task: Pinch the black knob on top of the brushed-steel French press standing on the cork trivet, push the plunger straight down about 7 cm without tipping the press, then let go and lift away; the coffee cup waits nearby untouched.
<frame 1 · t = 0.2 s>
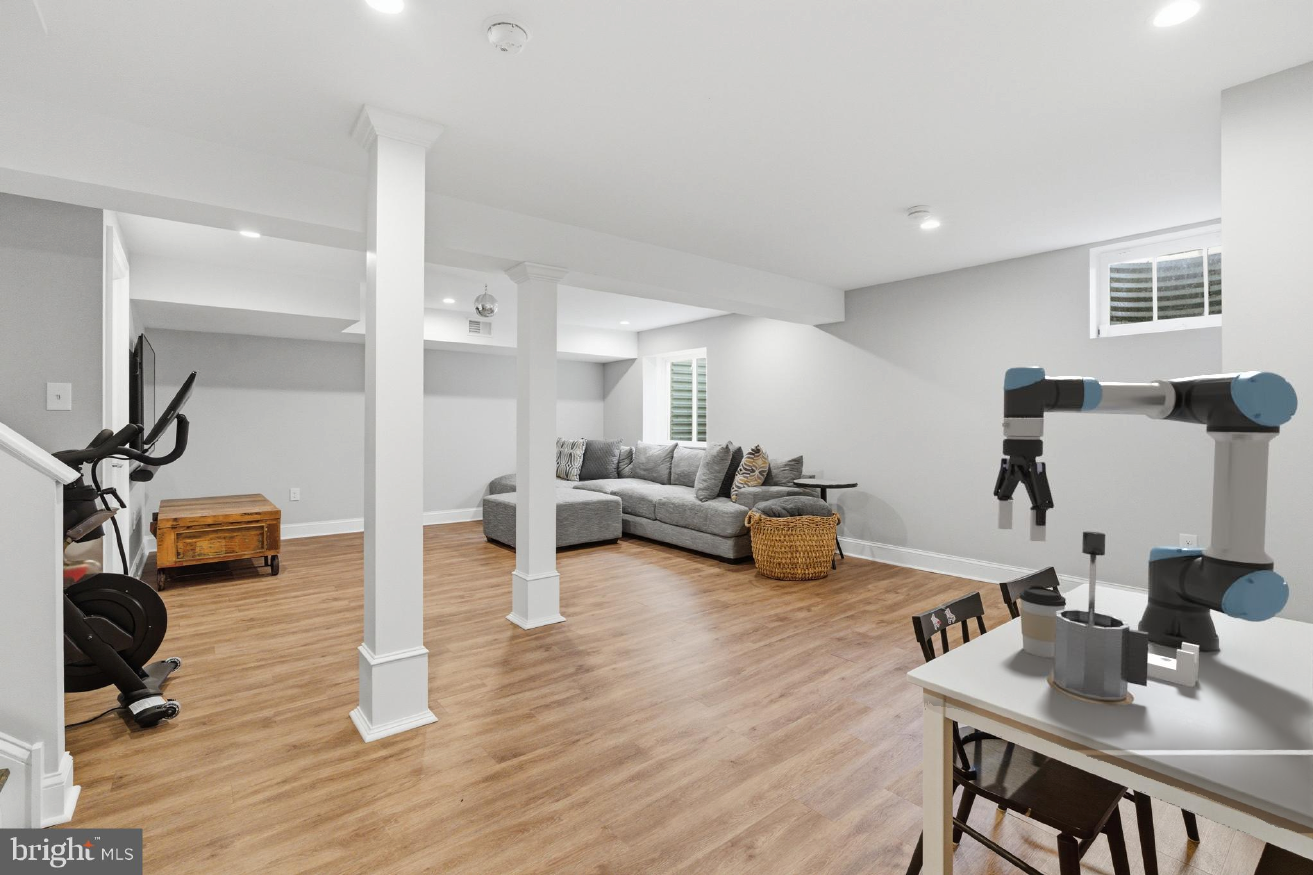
hand: (1020, 534, 132), 29 cm above the table, fingers open, 13 cm apart
bracket: (1154, 676, 128), on the table
carafe: (1088, 688, 119), point 1 cm above the table, touching trivet
trivet: (1088, 691, 120), on the table
coffee cup: (1040, 654, 139), on the table
plunger: (1092, 583, 119), point 22 cm above the table, slide at 0.0 cm
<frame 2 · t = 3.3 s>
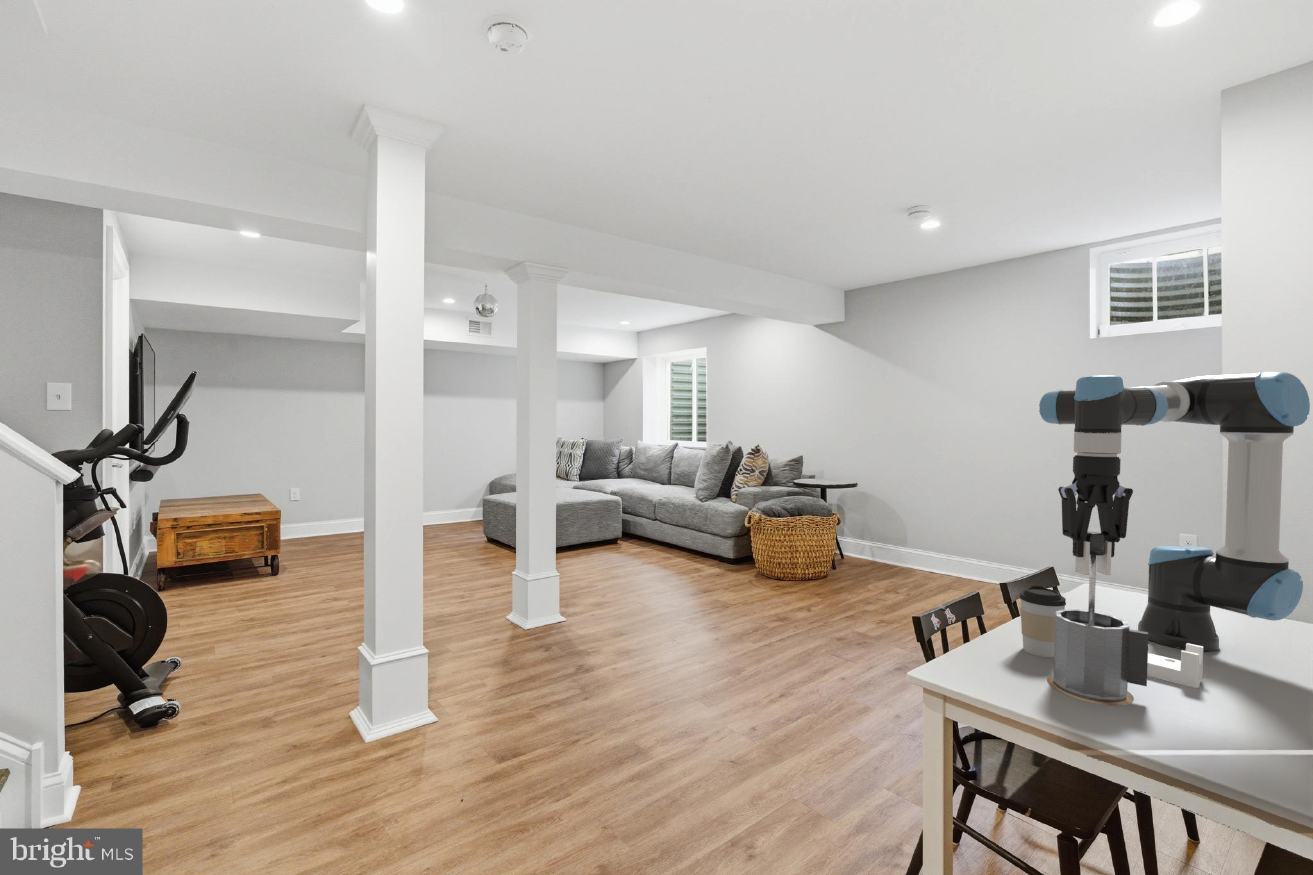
hand: (1092, 573, 119), 24 cm above the table, fingers closed on plunger, 4 cm apart
plunger: (1092, 583, 119), point 22 cm above the table, slide at 0.0 cm, touching gripper
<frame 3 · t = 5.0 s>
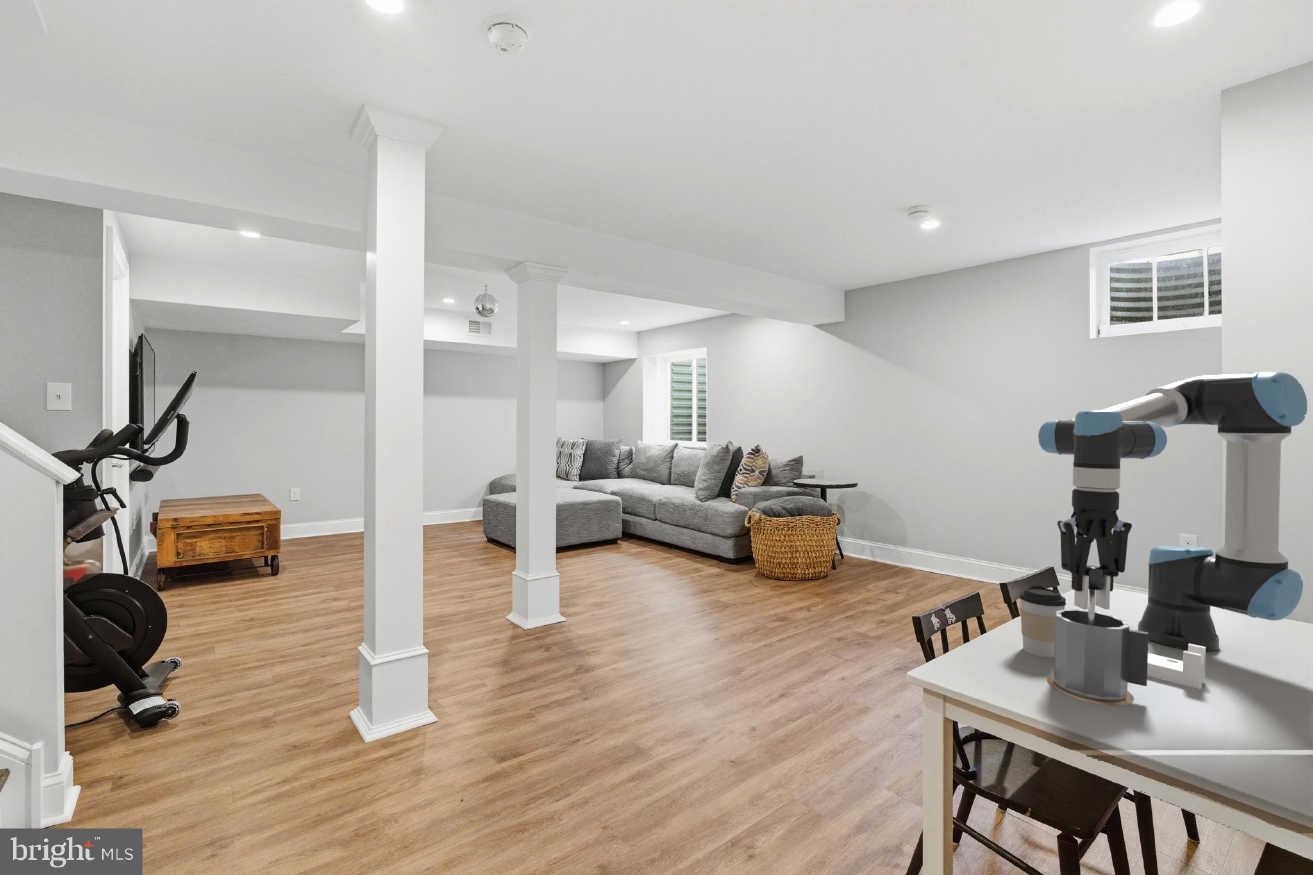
hand: (1091, 606, 119), 17 cm above the table, fingers closed on plunger, 4 cm apart
plunger: (1091, 617, 119), point 15 cm above the table, slide at 6.8 cm, touching gripper
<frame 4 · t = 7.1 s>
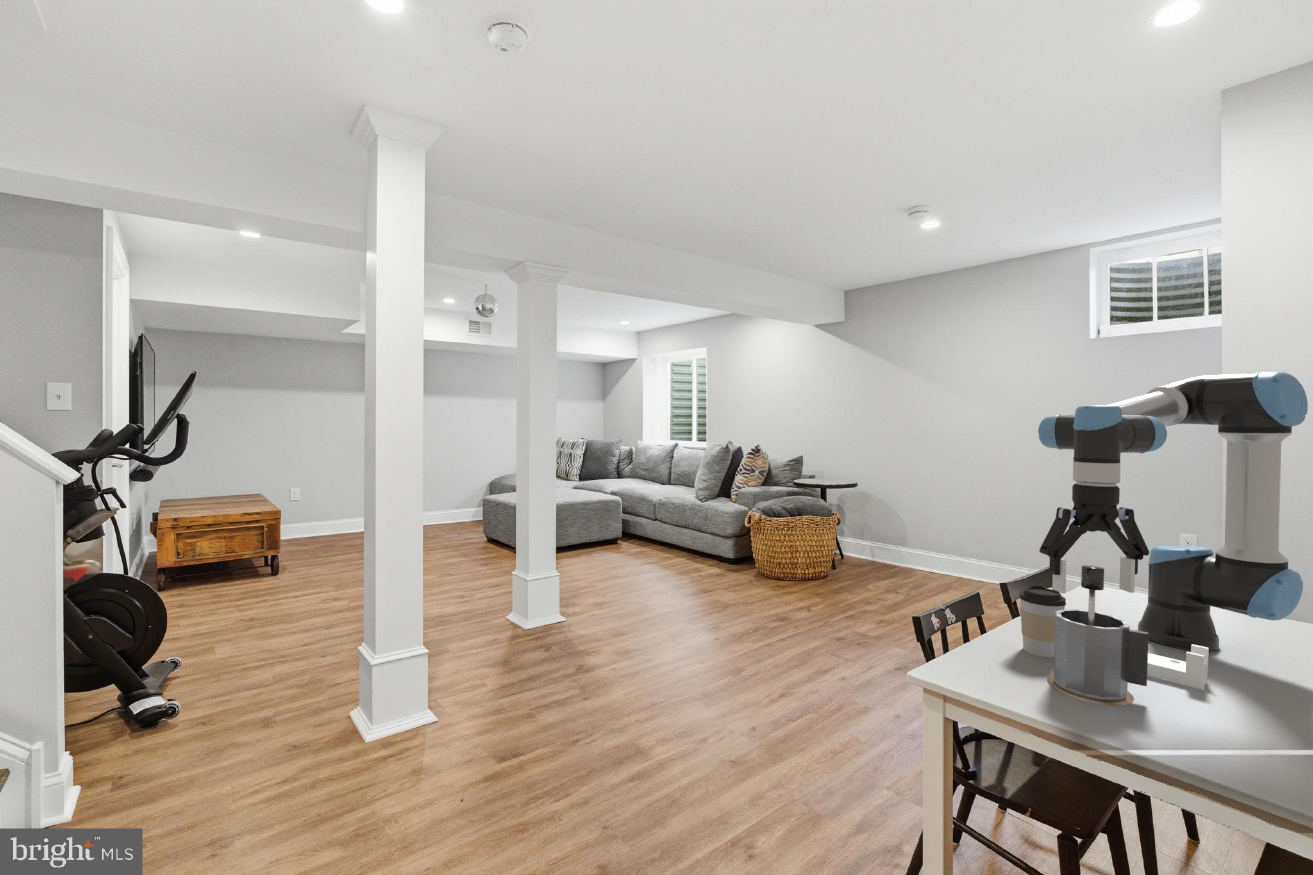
hand: (1092, 591, 119), 20 cm above the table, fingers open, 13 cm apart
plunger: (1091, 617, 119), point 15 cm above the table, slide at 6.8 cm
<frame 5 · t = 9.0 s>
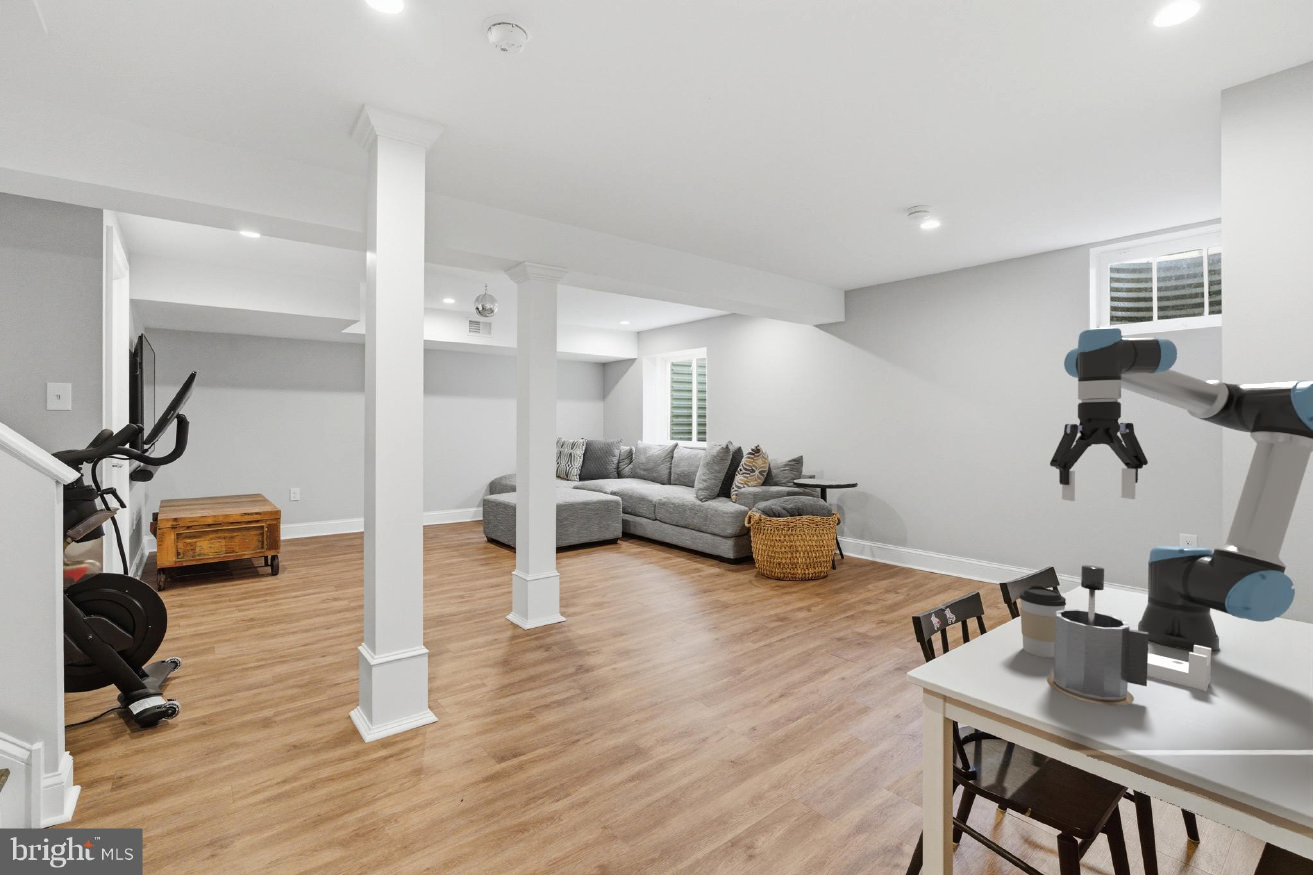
hand: (1098, 499, 130), 37 cm above the table, fingers open, 13 cm apart
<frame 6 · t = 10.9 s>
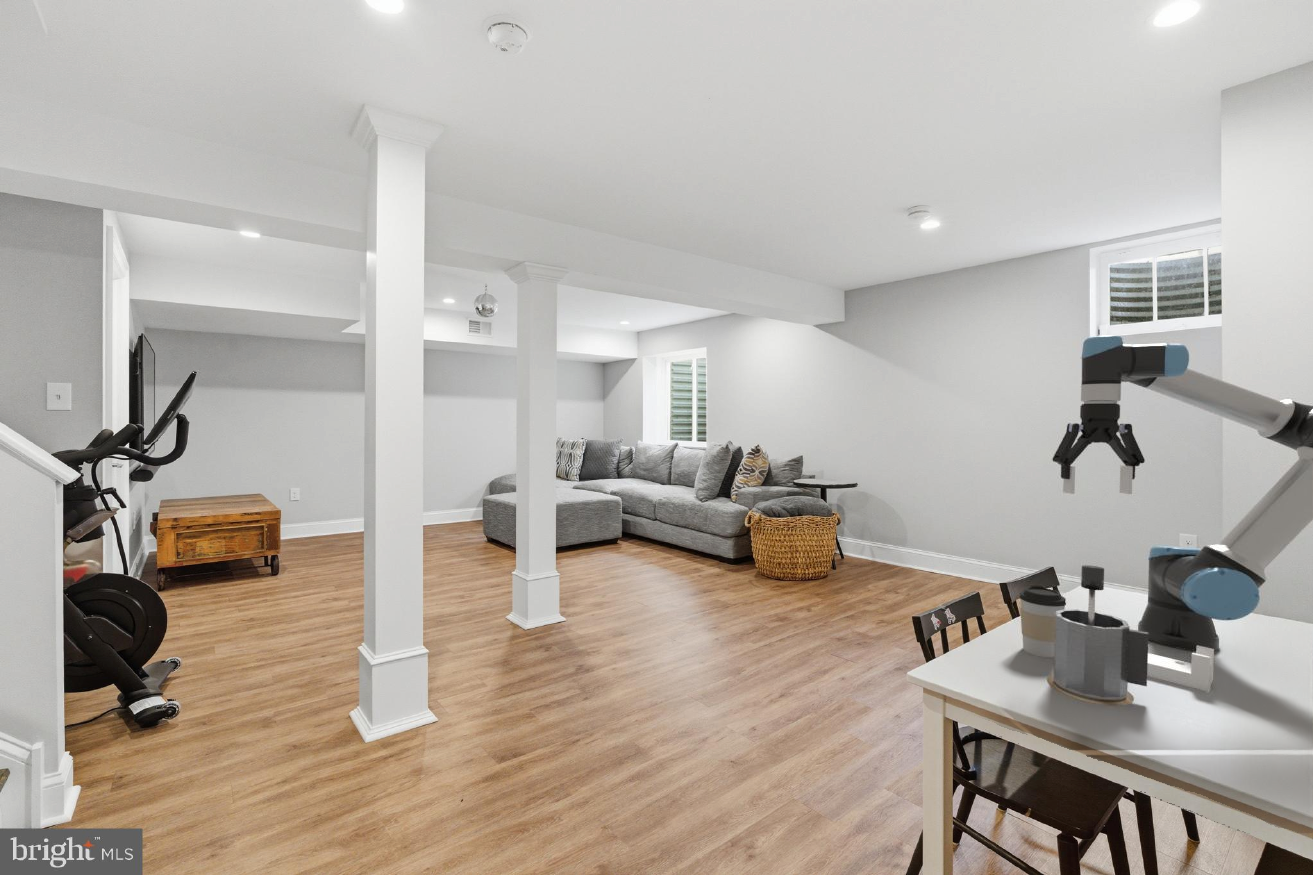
hand: (1097, 493, 142), 37 cm above the table, fingers open, 13 cm apart
at the end: plunger slide at 6.8 cm; carafe tilted 0°; carafe moved 0.0 cm from its start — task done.
